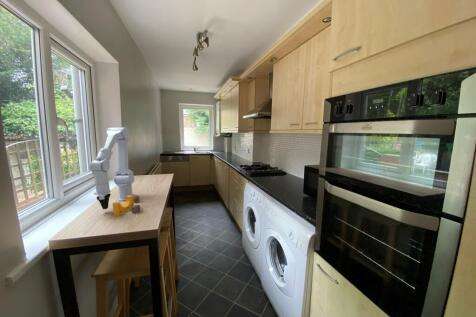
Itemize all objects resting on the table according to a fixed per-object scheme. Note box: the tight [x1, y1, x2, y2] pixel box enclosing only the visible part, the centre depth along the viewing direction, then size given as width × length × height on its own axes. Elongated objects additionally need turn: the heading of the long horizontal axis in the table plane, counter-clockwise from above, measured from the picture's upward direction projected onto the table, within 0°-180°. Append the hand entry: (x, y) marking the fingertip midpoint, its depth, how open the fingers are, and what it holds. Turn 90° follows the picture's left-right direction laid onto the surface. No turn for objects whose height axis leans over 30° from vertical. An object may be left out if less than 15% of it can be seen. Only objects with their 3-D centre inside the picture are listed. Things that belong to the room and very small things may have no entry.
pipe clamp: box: [112, 196, 135, 217], centre depth 100 cm, size 12×4×6 cm, turn 175°
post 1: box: [133, 195, 140, 204], centre depth 112 cm, size 4×4×3 cm
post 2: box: [131, 204, 141, 214], centre depth 99 cm, size 4×4×3 cm
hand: (105, 208), depth 99 cm, fingers closed
